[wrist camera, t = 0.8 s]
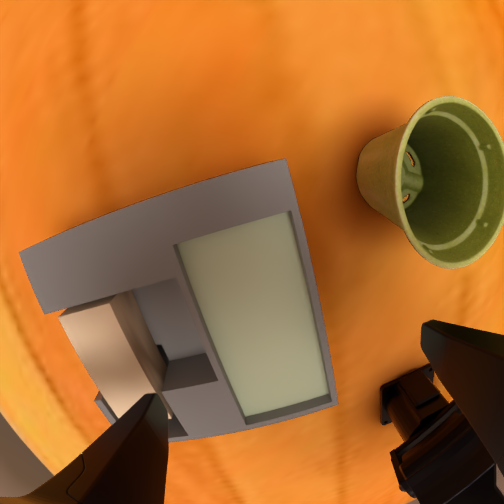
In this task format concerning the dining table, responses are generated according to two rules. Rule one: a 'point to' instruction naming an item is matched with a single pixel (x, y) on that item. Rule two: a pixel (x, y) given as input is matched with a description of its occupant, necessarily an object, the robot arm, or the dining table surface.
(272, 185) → the jig board
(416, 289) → the dining table surface
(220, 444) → the dining table surface
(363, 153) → the plant pot
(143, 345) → the maple block
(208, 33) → the dining table surface
